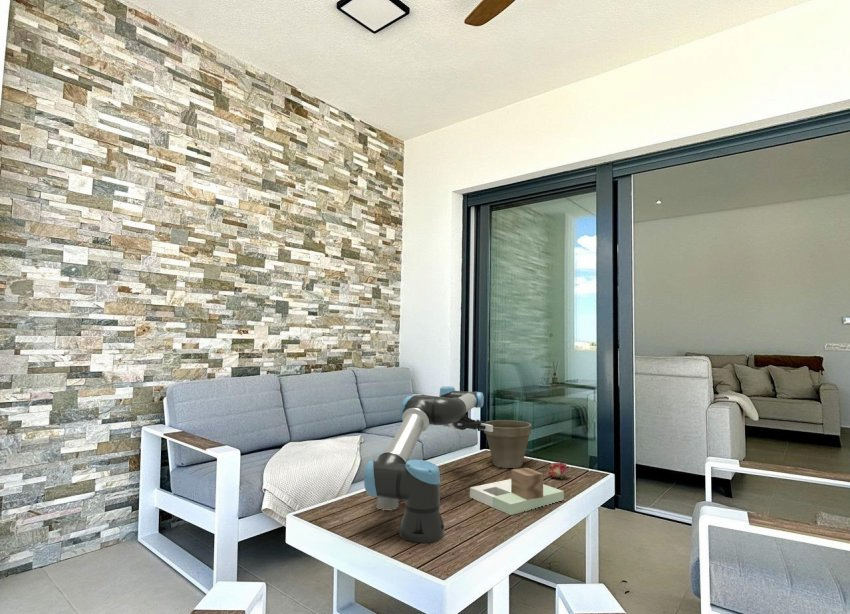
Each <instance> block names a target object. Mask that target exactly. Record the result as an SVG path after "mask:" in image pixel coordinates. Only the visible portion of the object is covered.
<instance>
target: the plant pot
mask: <svg viewBox="0 0 850 614" xmlns="http://www.w3.org/2000/svg"><path fill="white" fill-rule="evenodd" d="M485 422H486V423H487V424H489V425H493V432H489V431H485V430H483V432H484V434H485V435H486V440H487V443H488V448H489V452H490V455H491V459H492V463H493V465H494V467H497V468H500V467H502V468H501V469H507V468H513V469H520V468H521V467H523V463H524V459H525V455H526V451H527V446H528V443H529V439H530V435H531V434H532V424H531V423H530V422H526V421H521V420H511V419H510V420H509V419H508V420H507V419H503V420H501V419H498V420H495V419H494V420H488V421H485Z"/></svg>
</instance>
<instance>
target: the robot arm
mask: <svg viewBox="0 0 850 614" xmlns="http://www.w3.org/2000/svg"><path fill="white" fill-rule="evenodd" d="M455 389H456V388H455V387H454V386H451V385H450V386H449V385H446V386H444V385H443V386H441V387H440V388H439V395H438V396H429V395H418V394H414V395H408V396H406V397H405V398H404V399H403V401H402V403H401V408H400V418H401V421H402V422H401V424H400V426H399V429H398V430H397V431H396V434H394V435H395V436H394V437H393V439H392V441H391V442H390V444H389V445H388V448H387V449H386V451H384V452H382V453H381V454H379V456H378V457H377V459H376V460H374V459H373V460H369V461H368V462H366V465H365V469H364V473H363V474H364V475H363V484H364V485H363V486H364V490H365V492H366V494H367V495H368V496H371V497H376V498H378V497H380V498H389V499H399V500H398V501H404V504H405V505H404V507H405V508H404V512H403V515H402V518H401V522H400V523H399V524H400V525H399V536H400V537H401V538H402V537H403V538H402V539H404V540H405V539H406V541H408V540H409V541H408V542H412V541H413V542H412V543H422V544H423V543H426V542H427V543H434V542H437V541H439V540H441V539H443V538H444V536H445V525H444V521H443V517H442V514H441V511H440V504H441V503H440V500H441V499H440V498H441V497H440V496H441V495H440V494H441V491H440V490H441V478H440V477H441V474H440V473H441V471H440V468H439V466H438V465H436V464H435V463H433V462H430V461H427V460H424V459H423V460H422V459H410V457H411V455H412V453H413V452H414V449H415V447H416V445H417V443H418V441H419V438H420V436H421V434H422V432H424V431H426V430H427V429H428V428H429V426H430V425H431V426H432V425H433V426H444V427H448V428H453V429H454V430H460V431H464V430H466V429H469V430H475V431H476V430H477V431H478V432H480V431H484V430H485V431H489V432H493V425H489V424H487V423H486V422H487V421H483V420H480V419H477V418H476V420H475V419H472V418H470V417H469V416H468V415H467V412H469V411H471V410H472V409H474V408H477V409H478V408H481V409H482V408H483V406H484V400H485V399H484V398H485V397H484V396H485V395H484V393H483V392H481V391H463V390H455ZM427 543H426V544H427Z"/></svg>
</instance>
